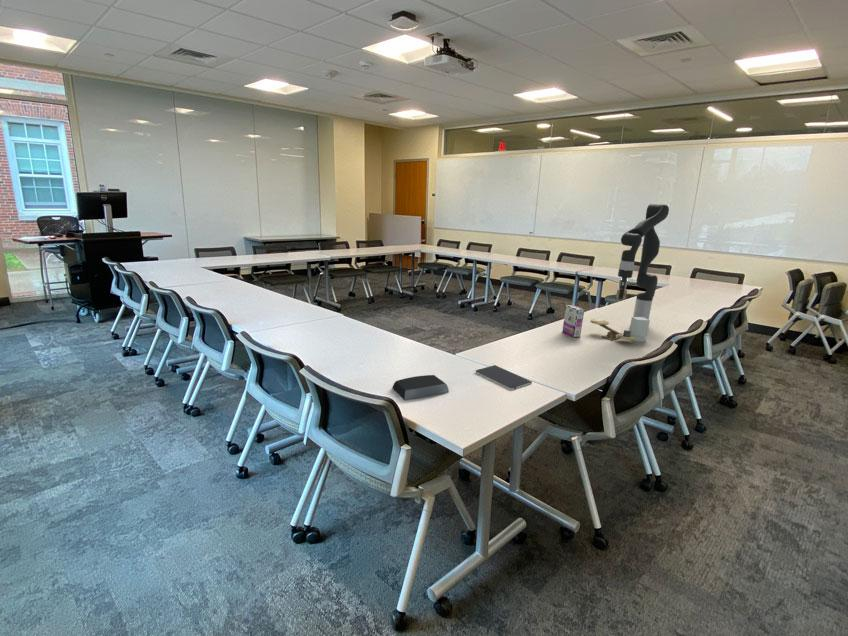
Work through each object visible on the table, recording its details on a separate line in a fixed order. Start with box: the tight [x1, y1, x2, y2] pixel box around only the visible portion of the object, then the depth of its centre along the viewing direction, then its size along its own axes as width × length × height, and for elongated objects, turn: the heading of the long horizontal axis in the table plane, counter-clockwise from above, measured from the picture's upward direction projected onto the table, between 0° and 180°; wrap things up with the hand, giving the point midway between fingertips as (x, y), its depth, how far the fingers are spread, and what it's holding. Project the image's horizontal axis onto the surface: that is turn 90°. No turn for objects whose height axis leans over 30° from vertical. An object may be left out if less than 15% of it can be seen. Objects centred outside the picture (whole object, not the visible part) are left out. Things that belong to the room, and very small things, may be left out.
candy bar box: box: [561, 304, 585, 338], centre depth 258 cm, size 11×5×16 cm, turn 17°
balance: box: [590, 318, 636, 341], centre depth 257 cm, size 28×10×7 cm, turn 36°
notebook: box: [475, 364, 532, 391], centre depth 193 cm, size 13×2×21 cm
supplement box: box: [628, 316, 650, 343], centre depth 256 cm, size 7×7×13 cm
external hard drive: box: [392, 374, 450, 401], centre depth 176 cm, size 13×19×4 cm
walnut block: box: [615, 288, 628, 301], centre depth 262 cm, size 5×5×5 cm
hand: (620, 297), depth 262 cm, fingers closed on walnut block, 5 cm apart
